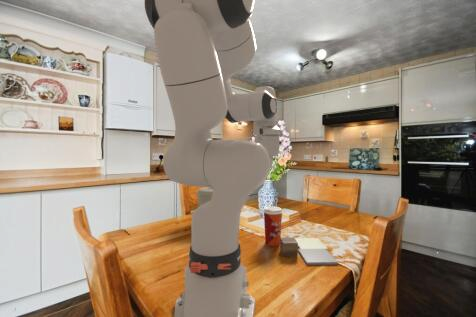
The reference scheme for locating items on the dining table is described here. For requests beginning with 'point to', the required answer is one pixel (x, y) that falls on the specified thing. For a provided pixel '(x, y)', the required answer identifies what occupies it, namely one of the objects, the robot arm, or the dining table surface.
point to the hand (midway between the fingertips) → (265, 166)
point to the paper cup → (272, 225)
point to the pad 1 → (310, 243)
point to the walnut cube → (288, 247)
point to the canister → (204, 195)
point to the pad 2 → (317, 257)
